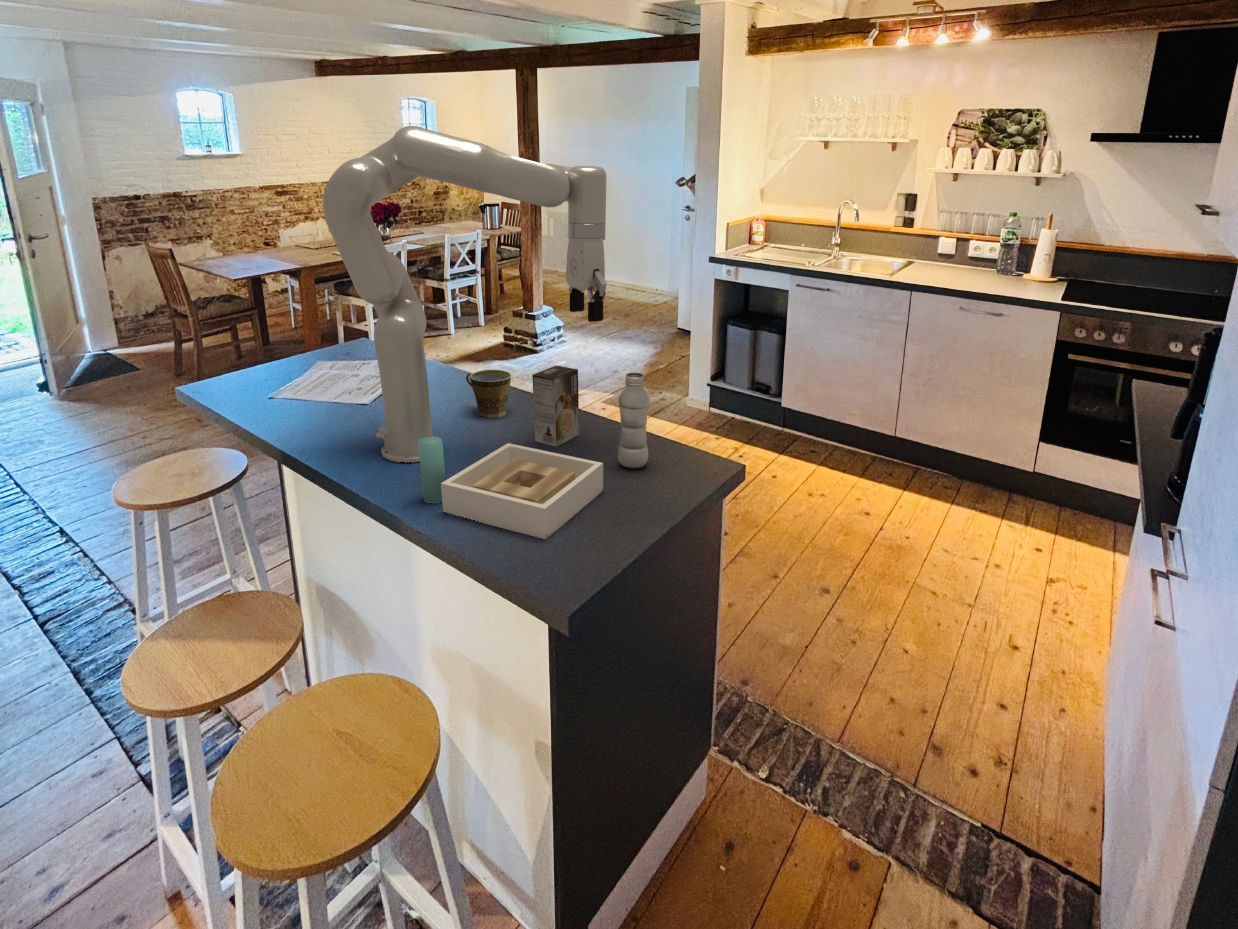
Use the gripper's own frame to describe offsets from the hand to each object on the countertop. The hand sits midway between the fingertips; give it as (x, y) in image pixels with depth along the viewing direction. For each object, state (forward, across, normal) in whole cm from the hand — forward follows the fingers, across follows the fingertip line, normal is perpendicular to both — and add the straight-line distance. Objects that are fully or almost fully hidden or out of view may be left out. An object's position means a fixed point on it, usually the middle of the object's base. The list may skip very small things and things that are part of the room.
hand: (585, 315), depth 161 cm
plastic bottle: (+30, +15, +5) cm, 33 cm away
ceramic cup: (+30, -29, -14) cm, 44 cm away
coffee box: (+30, -6, -4) cm, 31 cm away
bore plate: (+30, +22, -22) cm, 43 cm away
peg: (+30, +13, -37) cm, 49 cm away
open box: (+30, +22, -22) cm, 43 cm away
